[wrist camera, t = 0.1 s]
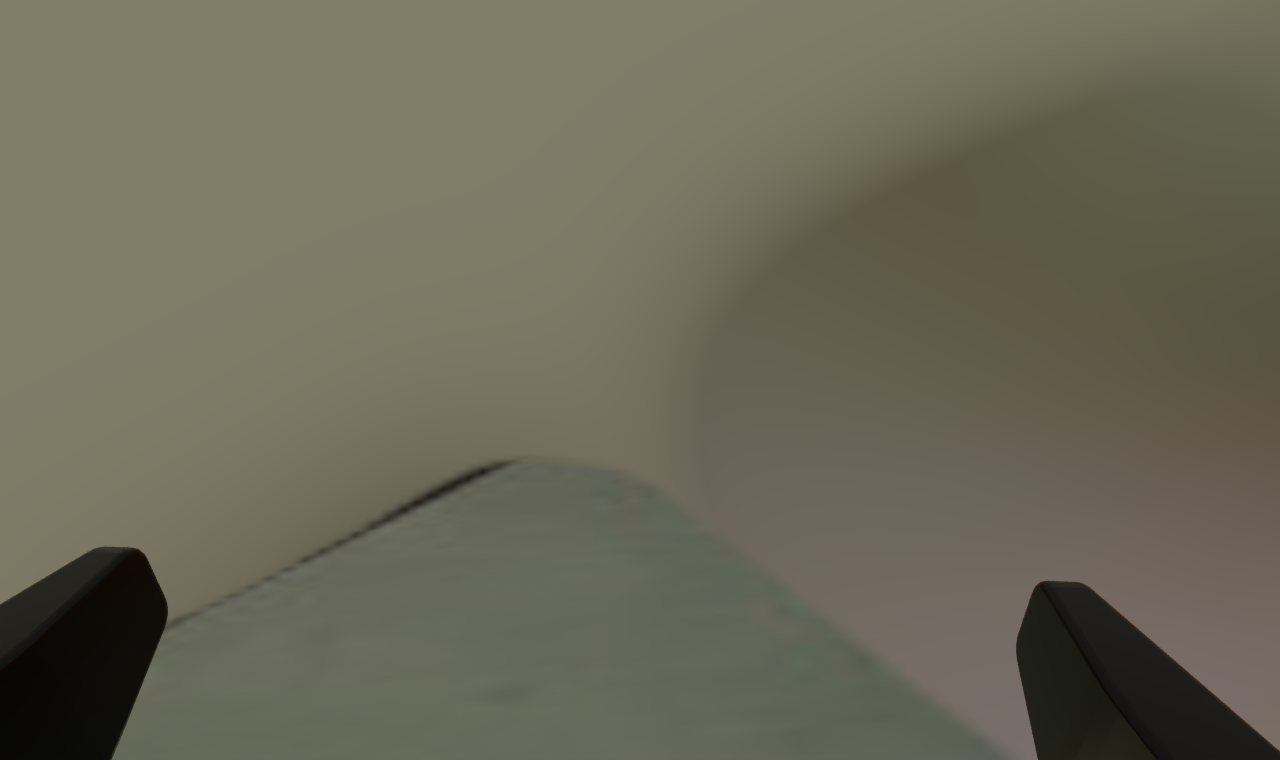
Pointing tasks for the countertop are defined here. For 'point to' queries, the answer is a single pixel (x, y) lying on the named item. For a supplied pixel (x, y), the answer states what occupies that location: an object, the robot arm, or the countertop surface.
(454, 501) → the countertop surface
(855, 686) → the countertop surface
